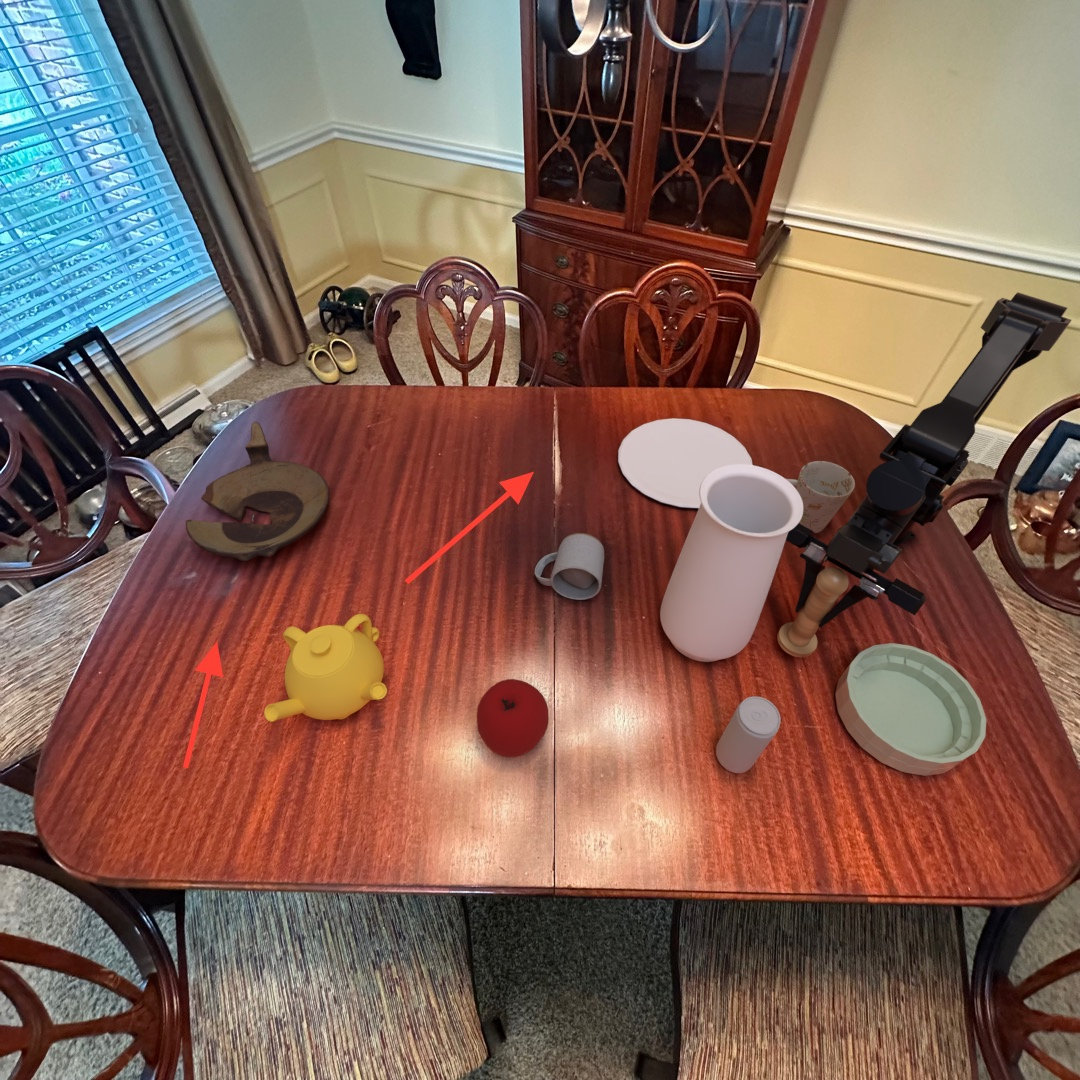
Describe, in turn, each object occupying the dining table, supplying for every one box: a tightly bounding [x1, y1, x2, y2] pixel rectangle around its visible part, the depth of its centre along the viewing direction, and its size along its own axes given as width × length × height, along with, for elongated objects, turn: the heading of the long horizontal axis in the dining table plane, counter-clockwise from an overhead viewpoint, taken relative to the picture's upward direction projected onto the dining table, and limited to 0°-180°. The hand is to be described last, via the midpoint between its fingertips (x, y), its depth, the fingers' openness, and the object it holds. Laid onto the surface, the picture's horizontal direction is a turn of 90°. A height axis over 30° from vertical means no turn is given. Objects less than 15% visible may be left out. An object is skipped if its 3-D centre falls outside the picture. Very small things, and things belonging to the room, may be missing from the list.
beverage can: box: [715, 695, 782, 774], centre depth 72 cm, size 5×5×12 cm
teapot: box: [263, 613, 388, 722], centre depth 78 cm, size 14×14×11 cm
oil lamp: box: [185, 421, 330, 562], centre depth 102 cm, size 22×30×8 cm
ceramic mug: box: [534, 532, 605, 601], centre depth 92 cm, size 11×8×8 cm
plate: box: [617, 418, 754, 510], centre depth 112 cm, size 25×25×1 cm
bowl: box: [835, 642, 987, 777], centre depth 78 cm, size 16×16×5 cm
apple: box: [476, 678, 550, 758], centre depth 75 cm, size 9×9×10 cm
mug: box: [785, 460, 856, 534], centre depth 100 cm, size 8×13×10 cm, turn 78°
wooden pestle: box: [776, 566, 850, 658], centre depth 79 cm, size 5×5×16 cm
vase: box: [659, 464, 803, 663], centre depth 78 cm, size 13×13×28 cm
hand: (807, 619), depth 79 cm, fingers closed on wooden pestle, 3 cm apart
